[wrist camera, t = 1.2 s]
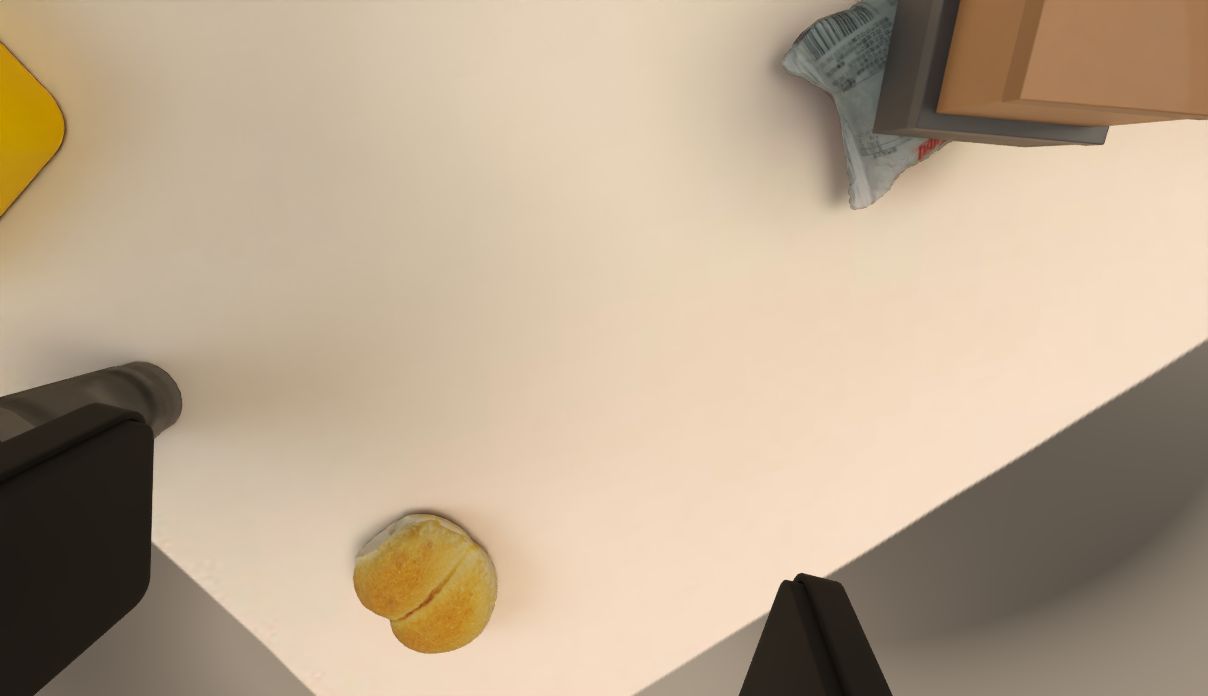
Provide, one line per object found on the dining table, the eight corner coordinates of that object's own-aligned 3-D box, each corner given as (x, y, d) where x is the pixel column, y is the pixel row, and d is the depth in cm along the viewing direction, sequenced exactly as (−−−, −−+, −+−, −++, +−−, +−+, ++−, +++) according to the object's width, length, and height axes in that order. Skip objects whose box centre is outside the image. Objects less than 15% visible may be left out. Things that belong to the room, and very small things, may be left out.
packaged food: (1067, 85, 32) (1141, 69, 27) (842, 210, 34) (873, 216, 29) (998, -87, 30) (1062, -137, 25) (766, 56, 32) (785, 36, 27)
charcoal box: (903, -38, 26) (960, -83, 22) (1071, -24, 26) (1166, -67, 21) (870, 134, 28) (916, 128, 23) (1026, 148, 28) (1104, 145, 23)
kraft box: (972, -65, 22) (1078, -140, 16) (1145, -51, 21) (1311, -123, 16) (932, 115, 23) (1018, 99, 18) (1094, 129, 23) (1230, 118, 18)
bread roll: (435, 649, 43) (414, 696, 40) (345, 553, 42) (314, 593, 38) (529, 590, 42) (517, 633, 38) (439, 487, 40) (417, 522, 36)
